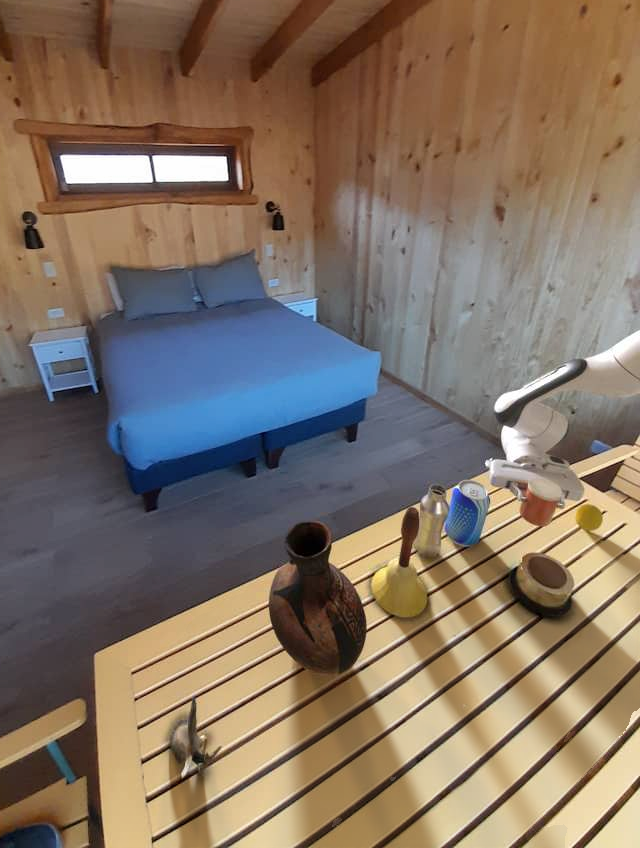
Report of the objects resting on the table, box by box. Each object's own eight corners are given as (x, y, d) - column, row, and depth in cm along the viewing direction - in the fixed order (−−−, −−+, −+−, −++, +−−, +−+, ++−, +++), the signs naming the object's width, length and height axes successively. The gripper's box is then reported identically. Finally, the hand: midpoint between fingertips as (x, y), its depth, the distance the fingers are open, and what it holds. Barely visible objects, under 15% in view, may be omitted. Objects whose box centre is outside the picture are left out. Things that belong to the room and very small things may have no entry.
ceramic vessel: (383, 668, 77) (401, 564, 64) (305, 722, 70) (307, 618, 56) (322, 580, 94) (326, 483, 80) (254, 616, 86) (246, 516, 73)
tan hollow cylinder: (560, 575, 93) (570, 554, 90) (578, 626, 83) (589, 604, 80) (503, 563, 97) (510, 541, 93) (514, 610, 86) (522, 588, 83)
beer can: (436, 528, 106) (447, 483, 99) (460, 518, 109) (472, 473, 102) (461, 553, 99) (474, 506, 92) (486, 542, 102) (500, 495, 95)
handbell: (389, 556, 99) (401, 479, 88) (437, 590, 91) (456, 510, 80) (360, 590, 91) (369, 510, 80) (409, 629, 83) (426, 547, 72)
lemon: (571, 517, 109) (580, 495, 105) (596, 526, 106) (607, 504, 102) (570, 530, 105) (580, 508, 101) (596, 540, 102) (607, 518, 98)
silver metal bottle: (419, 534, 105) (430, 475, 96) (444, 549, 100) (458, 489, 91) (406, 549, 101) (417, 489, 92) (431, 566, 96) (445, 505, 87)
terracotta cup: (546, 508, 98) (557, 480, 94) (554, 529, 93) (566, 501, 89) (516, 502, 100) (525, 475, 96) (522, 523, 95) (532, 494, 90)
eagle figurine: (232, 741, 67) (202, 690, 72) (213, 752, 61) (182, 696, 66) (200, 782, 65) (172, 727, 71) (177, 797, 60) (148, 737, 65)
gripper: (487, 448, 107) (495, 484, 95) (575, 462, 101) (596, 501, 89) (482, 467, 109) (489, 503, 98) (567, 481, 104) (587, 522, 92)
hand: (541, 503), depth 93 cm, fingers closed on terracotta cup, 6 cm apart
